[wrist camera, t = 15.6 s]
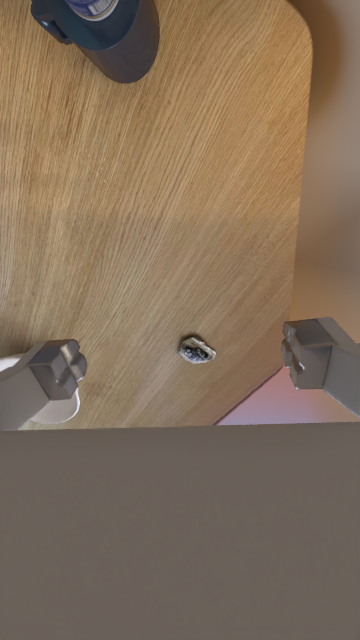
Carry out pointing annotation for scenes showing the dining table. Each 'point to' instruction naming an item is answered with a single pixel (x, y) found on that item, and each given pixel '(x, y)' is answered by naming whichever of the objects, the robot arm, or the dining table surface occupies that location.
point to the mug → (107, 35)
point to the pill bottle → (92, 8)
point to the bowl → (55, 409)
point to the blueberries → (196, 351)
